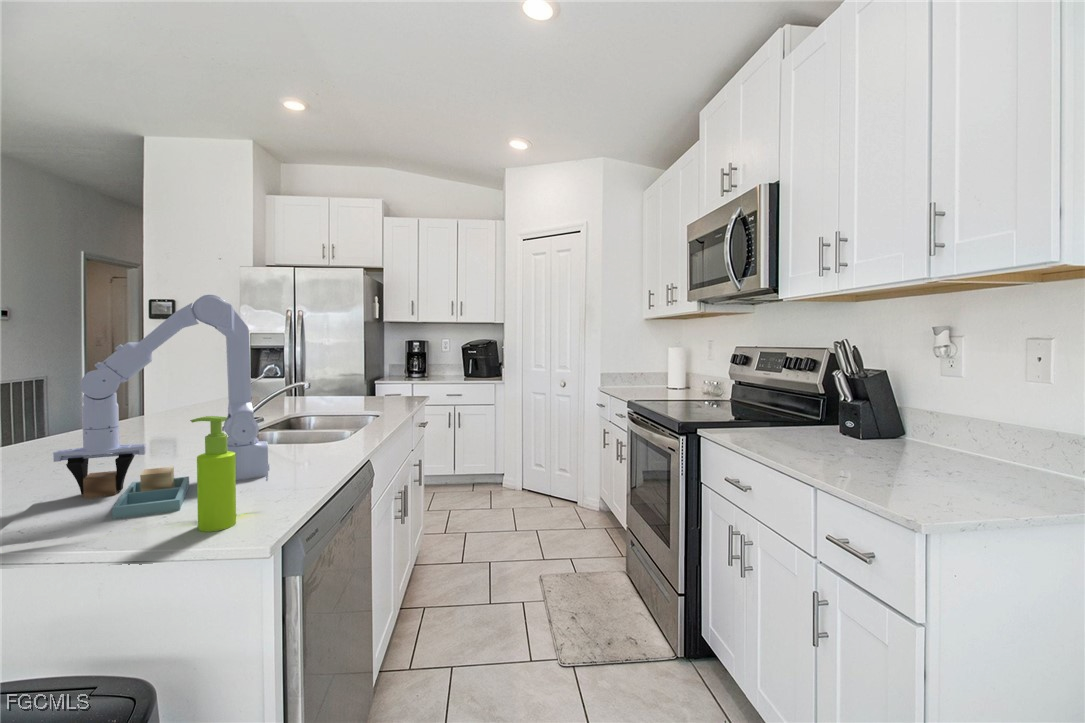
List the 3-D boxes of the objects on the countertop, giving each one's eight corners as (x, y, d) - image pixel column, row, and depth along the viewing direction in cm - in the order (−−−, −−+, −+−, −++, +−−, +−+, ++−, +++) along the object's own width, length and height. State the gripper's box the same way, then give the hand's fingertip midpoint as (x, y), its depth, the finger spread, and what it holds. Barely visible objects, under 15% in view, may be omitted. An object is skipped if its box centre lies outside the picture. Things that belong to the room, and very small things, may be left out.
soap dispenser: (203, 519, 95) (202, 414, 94) (242, 519, 96) (241, 414, 95) (184, 531, 89) (182, 419, 88) (225, 531, 90) (224, 419, 89)
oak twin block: (174, 489, 109) (173, 466, 109) (171, 496, 105) (170, 472, 105) (145, 492, 107) (144, 469, 107) (140, 499, 103) (140, 475, 102)
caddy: (189, 489, 113) (189, 476, 112) (179, 515, 97) (179, 499, 97) (132, 496, 108) (131, 482, 107) (112, 523, 92) (112, 507, 92)
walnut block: (120, 493, 109) (120, 470, 109) (115, 499, 105) (114, 476, 105) (90, 496, 107) (89, 473, 107) (83, 503, 102) (83, 479, 102)
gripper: (148, 421, 112) (149, 482, 113) (60, 426, 105) (62, 490, 106) (142, 427, 106) (143, 490, 107) (48, 432, 99) (50, 500, 100)
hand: (102, 491), depth 106 cm, fingers closed on walnut block, 5 cm apart
